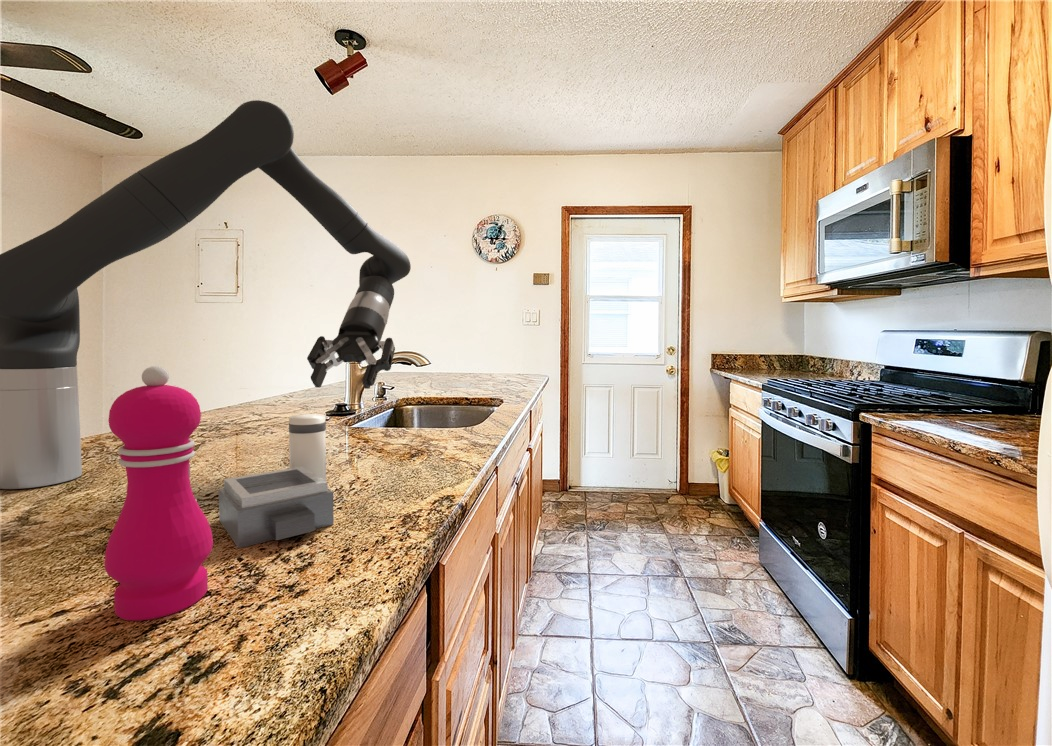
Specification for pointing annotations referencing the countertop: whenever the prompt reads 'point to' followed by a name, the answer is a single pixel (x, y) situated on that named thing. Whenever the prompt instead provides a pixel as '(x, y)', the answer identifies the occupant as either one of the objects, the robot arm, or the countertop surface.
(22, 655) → the countertop surface
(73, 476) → the robot arm
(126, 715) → the countertop surface
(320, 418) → the white banded cylinder
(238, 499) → the block
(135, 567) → the pepper mill
